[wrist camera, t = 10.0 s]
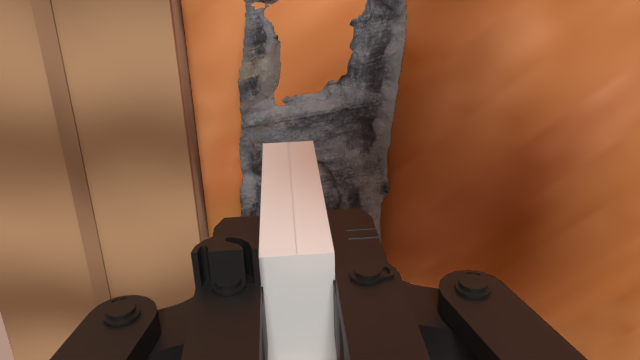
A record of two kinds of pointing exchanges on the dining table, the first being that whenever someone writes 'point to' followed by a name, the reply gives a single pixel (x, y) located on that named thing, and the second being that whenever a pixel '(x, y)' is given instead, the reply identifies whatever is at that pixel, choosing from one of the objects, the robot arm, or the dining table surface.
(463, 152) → the dining table surface
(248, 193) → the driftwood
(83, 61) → the floorboard
